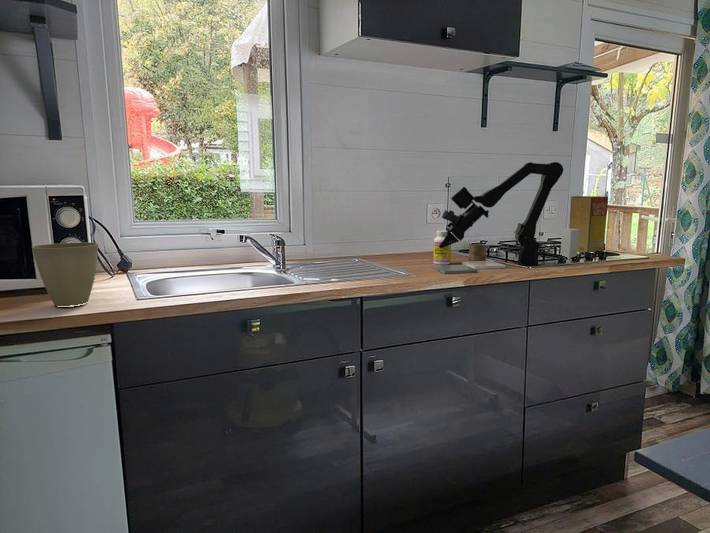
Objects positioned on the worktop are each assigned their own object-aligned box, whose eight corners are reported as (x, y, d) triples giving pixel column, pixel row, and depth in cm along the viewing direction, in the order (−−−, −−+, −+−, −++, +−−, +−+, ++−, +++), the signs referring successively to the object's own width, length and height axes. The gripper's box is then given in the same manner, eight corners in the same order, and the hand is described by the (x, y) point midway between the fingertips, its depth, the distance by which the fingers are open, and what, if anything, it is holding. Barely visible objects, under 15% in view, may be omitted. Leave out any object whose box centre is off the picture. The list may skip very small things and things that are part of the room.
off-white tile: (490, 263, 192) (491, 260, 192) (505, 267, 180) (505, 265, 180) (461, 264, 190) (461, 261, 190) (474, 269, 178) (474, 266, 178)
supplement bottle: (431, 264, 191) (431, 231, 189) (436, 262, 196) (437, 230, 194) (447, 265, 187) (448, 232, 185) (452, 263, 193) (453, 230, 191)
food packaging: (605, 253, 215) (609, 196, 211) (587, 254, 212) (591, 196, 208) (583, 250, 227) (586, 195, 223) (566, 251, 225) (569, 196, 221)
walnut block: (480, 261, 198) (480, 243, 197) (485, 262, 193) (486, 245, 192) (468, 261, 197) (469, 244, 196) (473, 263, 193) (474, 245, 191)
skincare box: (567, 257, 206) (569, 228, 204) (577, 258, 202) (579, 229, 200) (559, 258, 202) (561, 229, 200) (569, 259, 199) (571, 230, 197)
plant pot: (105, 307, 127) (99, 245, 124) (37, 314, 119) (29, 249, 117) (102, 296, 139) (96, 240, 137) (40, 302, 132) (33, 244, 130)
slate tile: (464, 267, 183) (464, 264, 183) (477, 272, 171) (477, 269, 171) (433, 268, 181) (433, 265, 181) (444, 273, 169) (444, 271, 169)
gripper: (453, 202, 197) (424, 229, 200) (455, 203, 178) (424, 233, 182) (472, 221, 197) (444, 248, 200) (477, 225, 179) (445, 255, 182)
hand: (439, 246), depth 191 cm, fingers open, 9 cm apart
